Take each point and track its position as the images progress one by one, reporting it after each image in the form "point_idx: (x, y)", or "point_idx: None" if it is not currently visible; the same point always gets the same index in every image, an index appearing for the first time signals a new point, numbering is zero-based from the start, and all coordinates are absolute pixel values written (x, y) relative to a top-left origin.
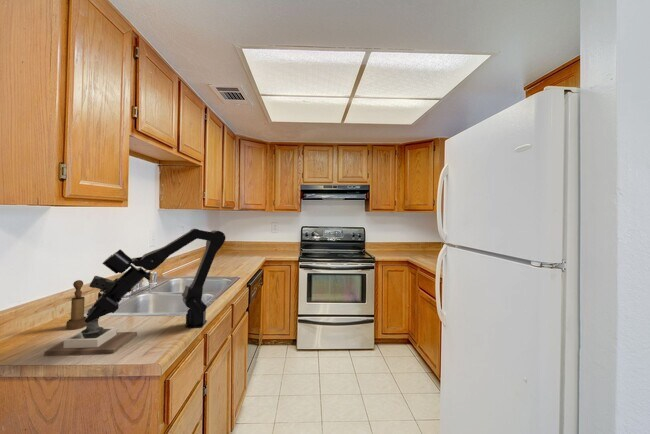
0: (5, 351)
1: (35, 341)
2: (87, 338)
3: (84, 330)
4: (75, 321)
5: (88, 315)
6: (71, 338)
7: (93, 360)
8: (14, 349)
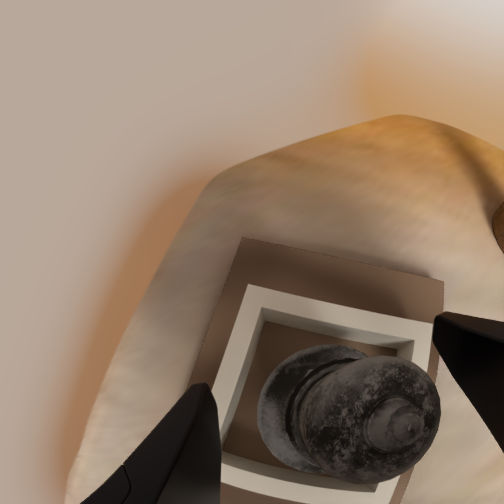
0: (325, 133)
1: (397, 167)
2: (225, 410)
3: (308, 366)
4: None
5: (183, 422)
6: (278, 311)
7: (108, 447)
8: (337, 144)
